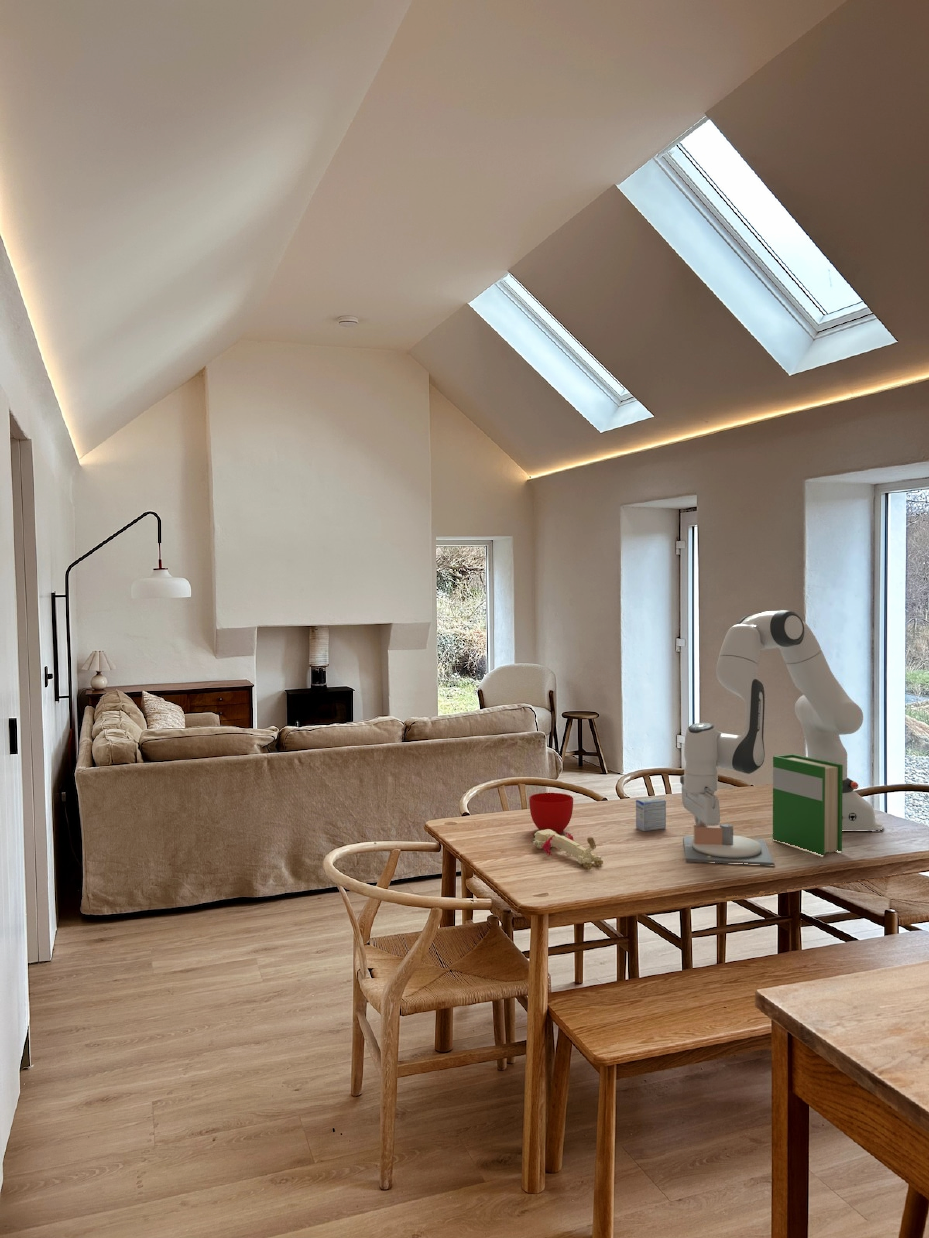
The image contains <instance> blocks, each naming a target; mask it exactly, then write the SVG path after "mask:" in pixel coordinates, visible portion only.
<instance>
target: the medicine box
mask: <svg viewBox="0 0 929 1238" xmlns="http://www.w3.org/2000/svg"><path fill="white" fill-rule="evenodd" d="M635 828H636V829H638V830H640V831H641V832H650V831H656V830H664V829H666V828H667V800H666V799H663V798H661V797H658V796H657V797H648V798H641V799H636V800H635Z"/></svg>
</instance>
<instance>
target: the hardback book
mask: <svg viewBox="0 0 929 1238" xmlns="http://www.w3.org/2000/svg"><path fill="white" fill-rule="evenodd" d="M842 786H843V765H841V764H837V763H832V762H828V761H823V760H818V759H814V758H809V757H808V756H803V755H799V754H793V753H790V754H782V755H774V756H772V840H773V839H774V840H777V841H780V842H785V843H788V844H790V845H795V846H798V847H800V848H803V849H807V850H809V851H812V852H816V853H818V854H821V855H824V856H825V854H827V853H826V852H829V853H835V852H834V851H837V850H838V851H842V852H843V832H842Z"/></svg>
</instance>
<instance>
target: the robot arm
mask: <svg viewBox="0 0 929 1238" xmlns="http://www.w3.org/2000/svg"><path fill="white" fill-rule="evenodd" d="M720 647H721V648H720V650H719V654H718V658H717V663H716V666H715V667H716V669H715V676H716V678H717V681H718V682H719V684H720V685H721V686H722V687H723V688H724V689H726V690H727V691H728V692H730V693H732V694H734V695H736V696H737V697H739V698H740V699H742V701H743V702H744V706H745V709H744V710H745V711H744V727H743V733H742V734H740V735H739V734H732V733H727V732H721V731H719V730H717V729H716V726H715V725H714V724H712V723H709V722H698V723H693V724H691V725H689V726H687V729H686V733H685V737H684V739H685V740H684V760H685V767H684V770H683V771H684V772H683V773H684V774H683V775H680V776H679V783H680V784H681V801H682V802H681V803H682V806H683V808H684V809H685V810H686V811H687V812H689V813H690V814H691V815H693V816H694V823H695V825H707V826H720V822H721V811H720V809H721V808H720V800H719V798H718V796H717V795H716V794H715V792H717V791H718V787H719V785H718V767H719V768H721V769H725V770H726V769H727V770H734V771H736V772H740V773H744V774H747V775H750V774H753V773H754V772H756V771H757V770H759V769H760V768H761V767H762V766H763V764H764V762H765V744H764V743H765V741H764V733H765V732H764V731H765V730H764V728H765V709H766V706H765V704H766V701H765V698H766V697H765V696H766V695H765V694H766V693H765V689H764V688H765V687H764V684H763V683H762V682H761V681H760V680H759V678H758V666H759V662H760V654H761V651H770V650H775V649H779V651H780V654H781V657H782V659H783V661H784V664H785V667H786V668H787V671H788V673H789V675H790V678H791V680H792V683H793V685H794V687H795V688H796V689H798V691H800V692H801V693H802V695H801V696H800V697H798V699H796V701H795V705H794V713H795V716H796V718H797V719H798V721H799V723H800V725H801V728H802V731H803V735H804V739H805V744H806V749H807V750H806V751H807V757H809V758H814V759H818V760H823V761H828V762H832V763H837V764H841V765H843V786H842V830H881V829H883V830H884V825H883V823H882V821H880V820H879V819H877V818H876V815H875V811H874V808H873V806H872V805H871V803H870V802H868V801H867V800H866V799H865V798H864V797H862V796H861V795H859V793H857V792H856V791H855V790H858V788H859V784H858V782H856V781H854V780H852V779H851V778H849V777H848V751H847V749H846V748H845V746H844V745H843V742H842V740H841V737H840V736H841V735H843V736H844V735H851V734H854V733H856V732H858V730H860V729H861V727H862V724H863V722H864V713H863V710H862V708H861V707H860V706H859V705H858V704H857V703H856V702H855V701H854V700H853V699H851V697H850V696H849V695H848V693H847V692H846V690H845V689H844V688H843V687H842V685H841V684H840V683H839V680H838V679H837V678H836V676H835V675H834V674H833V672H832V670H831V668H830V666H829V664H828V661H827V659H826V656H825V654H824V652H823V650H822V647H821V645H820V644H819V641H818V639H817V638H816V636H815V633H814V632H813V631H812V629H811V628H810V626H809V625H808V624H807V622H805V621H803V619H802V618H801V616H800V615H799V614H798V613H796V612H795V611H792V610H786V609H780V610H769V611H762V612H761V613H755V614H748V615H745V616H743V617H742V618H740V619H739V620H738V621H737V623H736V624H734V625H733V626H730V628H729V629H728V630H727V632H726V634H725V637H724V639H723V642H722V644H721V646H720Z"/></svg>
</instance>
